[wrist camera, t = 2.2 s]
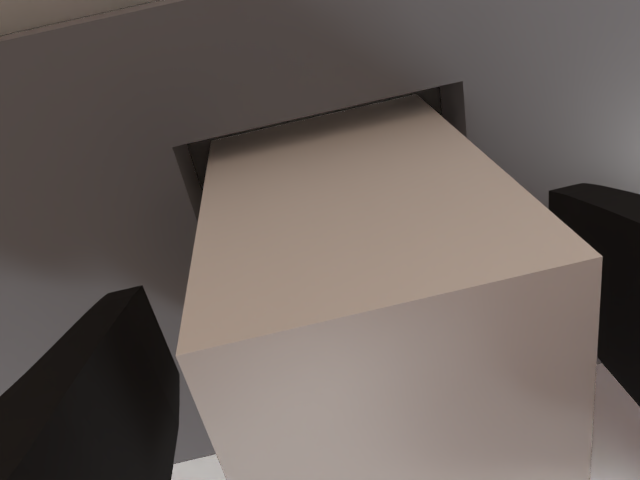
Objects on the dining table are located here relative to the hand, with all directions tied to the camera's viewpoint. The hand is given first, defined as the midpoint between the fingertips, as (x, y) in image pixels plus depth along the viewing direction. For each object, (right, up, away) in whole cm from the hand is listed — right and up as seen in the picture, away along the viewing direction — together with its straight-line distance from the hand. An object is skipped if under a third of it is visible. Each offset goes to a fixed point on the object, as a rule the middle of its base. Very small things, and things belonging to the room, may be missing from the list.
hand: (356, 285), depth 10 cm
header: (0, +1, +3) cm, 3 cm away
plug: (0, +1, +3) cm, 3 cm away
